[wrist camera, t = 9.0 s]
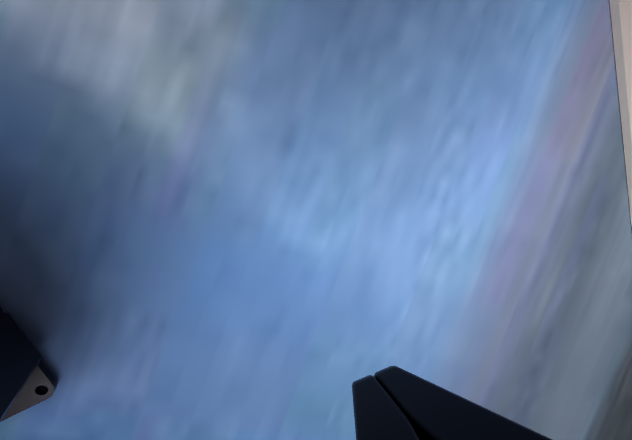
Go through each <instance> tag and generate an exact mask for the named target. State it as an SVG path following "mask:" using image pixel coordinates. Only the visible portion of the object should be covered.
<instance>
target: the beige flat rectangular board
mask: <svg viewBox="0 0 632 440" xmlns="http://www.w3.org/2000/svg"><path fill="white" fill-rule="evenodd" d="M609 1H610V11H611V21H612V32H613V42H614V52H615V62H616V73H617V83H618V93H619V103H620V113H621V124H622V134H623V144H624V154H625V165H626V175H627V185H628V195H629V205H630V216H631V226H632V0H609Z"/></svg>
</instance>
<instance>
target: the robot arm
mask: <svg viewBox="0 0 632 440" xmlns="http://www.w3.org/2000/svg"><path fill="white" fill-rule="evenodd" d="M40 358H41V355H40V354H39V352H38V351H37V350H36V349H35V347H34V346H33V345H32V343H31V342H30V341H29V339H28V338H27V337H26V335H25V334H24V333H23V332H22V330H21V329H20V328H19V326H18V325H17V324H16V322H15V321H14V320H13V318H12V317H11V316H10V314H8V313H6V312H4V311H3V310H2V309H1V308H0V422H1V421H3V420H5V419H7V418H9V417H11V416H13V415H15V414H17V413H19V412H21V411H23V410H25V409H27V408H29V407H31V406H34V405H36V404H38V403H40V402H42V401H44V400H46V399H48V398H49V397H51V396H52V395H53V393H54V391H55V389H56V387H57V381H56V379H55V378H54V377H53V375H52V374H51V373H50V371H49V370H48V369H47V368H46V366H45V365H44V364H43V362H42V361H41V360H40ZM41 385H43V386H46V387H47V388H48V389H46V390H43V389H41V388H39V386H41ZM352 392H353V405H354V417H355V430H356V440H552V439H550V438H548V437H546V436H543V435H541V434H539V433H537V432H535V431H533V430H531V429H529V428H526V427H524V426H522V425H520V424H518V423H516V422H514V421H512V420H509V419H507V418H505V417H503V416H501V415H499V414H497V413H495V412H492V411H490V410H488V409H486V408H484V407H482V406H480V405H478V404H475V403H473V402H471V401H469V400H467V399H465V398H463V397H461V396H458V395H456V394H454V393H452V392H450V391H448V390H446V389H444V388H441V387H439V386H437V385H435V384H433V383H431V382H429V381H427V380H424V379H422V378H420V377H418V376H416V375H414V374H412V373H410V372H407V371H405V370H403V369H401V368H399V367H397V366H390V367H388V368H385V369H383V370H380V371H378V372H376V373H375V375H374V376H372V375H369V376H366V377H364V378H361V379H359V380H357V381H355V382H353V384H352Z"/></svg>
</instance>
